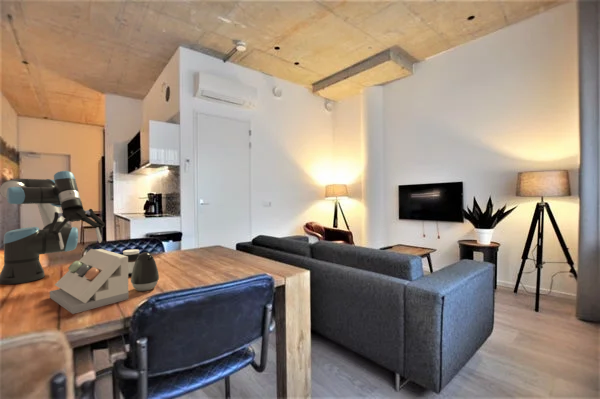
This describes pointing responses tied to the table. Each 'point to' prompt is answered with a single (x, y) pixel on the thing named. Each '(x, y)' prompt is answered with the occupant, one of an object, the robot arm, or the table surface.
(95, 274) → the terracotta button
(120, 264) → the button console
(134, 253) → the spread jar
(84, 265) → the charcoal button
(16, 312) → the table surface
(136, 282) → the dark grey egg figure
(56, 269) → the table surface
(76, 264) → the sage button
